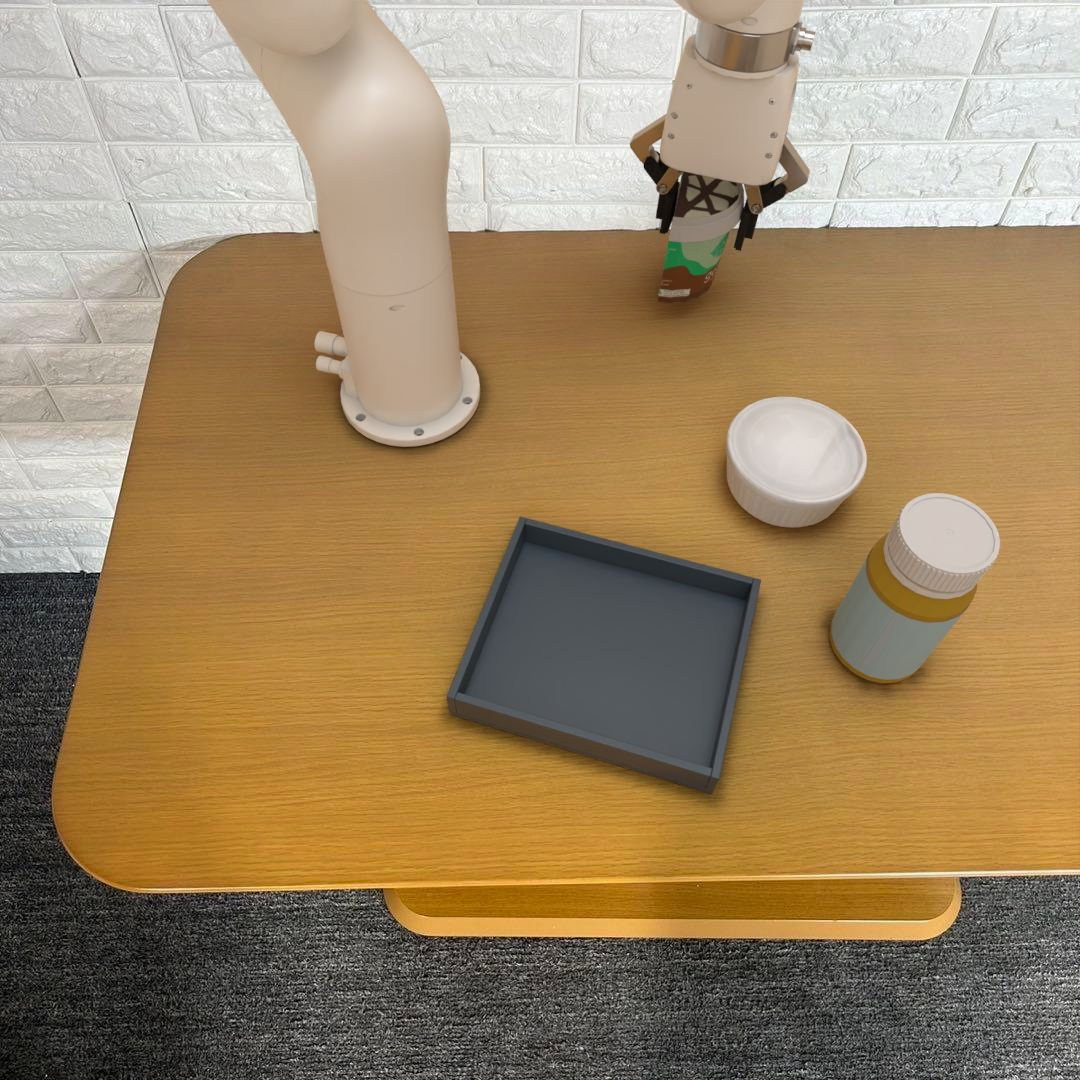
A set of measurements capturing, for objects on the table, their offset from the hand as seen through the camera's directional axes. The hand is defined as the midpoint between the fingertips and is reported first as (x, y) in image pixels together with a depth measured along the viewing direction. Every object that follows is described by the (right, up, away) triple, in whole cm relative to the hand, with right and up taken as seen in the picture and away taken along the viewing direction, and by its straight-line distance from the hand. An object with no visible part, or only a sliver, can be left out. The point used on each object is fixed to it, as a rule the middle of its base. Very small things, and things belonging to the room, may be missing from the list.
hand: (703, 232), depth 84 cm
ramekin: (+5, -24, -7) cm, 26 cm away
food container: (0, -3, +4) cm, 5 cm away
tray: (-10, -37, -17) cm, 42 cm away
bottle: (+10, -37, -16) cm, 41 cm away
